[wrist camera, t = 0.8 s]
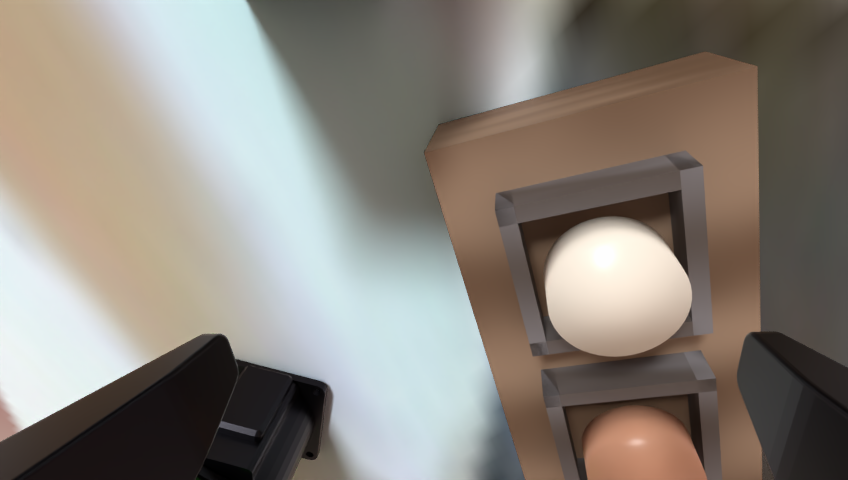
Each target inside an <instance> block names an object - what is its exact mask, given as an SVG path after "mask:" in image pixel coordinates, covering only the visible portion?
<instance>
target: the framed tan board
mask: <svg viewBox="0 0 848 480" xmlns="http://www.w3.org/2000/svg"><path fill="white" fill-rule="evenodd" d="M424 155H425V158H426V161H427V164H428V167H429V171H430V174H431V177H432V180H433V184H434V187H435V190H436V193H437V196H438V200H439V203H440V206H441V209H442V213H443V216H444V219H445V222H446V226H447V229H448V232H449V235H450V238H451V242H452V245H453V248H454V251H455V255H456V258H457V261H458V264H459V267H460V271H461V274H462V277H463V280H464V284H465V287H466V290H467V293H468V296H469V300H470V303H471V306H472V309H473V313H474V316H475V319H476V322H477V325H478V329H479V332H480V335H481V338H482V342H483V345H484V348H485V351H486V355H487V358H488V361H489V364H490V367H491V371H492V374H493V377H494V380H495V384H496V387H497V390H498V393H499V396H500V400H501V403H502V406H503V409H504V413H505V416H506V419H507V422H508V425H509V429H510V432H511V435H512V438H513V442H514V445H515V448H516V451H517V455H518V458H519V461H520V464H521V467H522V471H523V474H524V477H525V480H588V479H587V473H586V467H585V461H584V455H583V449H582V435H583V432H584V430H585V428H586V427H587V425H588V424H589V423H590V422H591V421H592V420H593V419H594V418H595V417H597V416H598V415H600V414H602V413H604V412H606V411H608V410H611V409H614V408H618V407H623V406H633V405H640V406H650V407H654V408H658V409H661V410H664V411H666V412H669V413H671V414H672V415H674V416H675V417H677V418H678V419H679V420H680V421H681V422H682V423H683V424H684V425H685V427H686V428H687V430H688V433H689V435H690V437H691V440H692V442H693V445H694V447H695V449H696V452H697V454H698V457H699V459H700V461H701V464H702V466H703V469H704V471H705V473H706V476H707V480H762V447H761V445H760V442H759V439H758V437H757V434H756V432H755V429H754V426H753V424H752V421H751V419H750V416H749V413H748V411H747V408H746V406H745V403H744V400H743V398H742V395H741V393H740V390H739V387H738V383H737V369H738V364H739V360H740V355H741V351H742V346H743V342H744V339H745V336H746V335H747V334H748V333H750V332H760V249H759V161H758V72H757V66H754V65H751V64H747V63H744V62H740V61H737V60H733V59H730V58H726V57H723V56H719V55H716V54H712V53H709V52H702V53H698V54H695V55H691V56H687V57H684V58H680V59H676V60H673V61H669V62H665V63H662V64H658V65H654V66H651V67H647V68H643V69H640V70H636V71H632V72H629V73H625V74H621V75H618V76H614V77H610V78H607V79H603V80H600V81H596V82H592V83H589V84H585V85H581V86H578V87H574V88H570V89H567V90H563V91H559V92H556V93H552V94H548V95H545V96H541V97H537V98H534V99H530V100H526V101H523V102H519V103H515V104H512V105H508V106H504V107H501V108H497V109H493V110H490V111H486V112H483V113H479V114H475V115H472V116H468V117H464V118H461V119H457V120H453V121H450V122H446V123H442V124H439V125H438V127H437V129H436V131H435V133H434V134H433V136H432V138H431V140H430V142H429V144H428V146H427V148H426V150H425V152H424ZM606 216H619V217H627V218H632V219H635V220H638V221H641V222H643V223H645V224H647V225H649V226H650V227H652V228H653V229H654V230H656V231H657V232H658V233H659V234H660V235H661V236H662V238H663V239H664V240H665V241H666V243H667V244H668V246H669V248H670V249H671V251H672V252H673V254H674V255H675V257H676V258H677V260H678V261H679V263H680V265H681V266H682V268H683V269H684V271H685V273H686V274H687V276H688V278H689V281H690V284H691V289H692V302H691V308H690V310H689V313H688V316H687V318H686V319H685V321H684V323H683V324H682V326H681V327H680V328H679V329H678V330H677V332H676V333H675V334H674V335H672V336H671V337H670V338H669V339H668V340H666V341H665V342H663V343H662V344H660V345H658V346H656V347H654V348H652V349H650V350H647V351H645V352H642V353H638V354H634V355H628V356H618V357H612V356H601V355H596V354H591V353H588V352H585V351H583V350H580V349H578V348H576V347H574V346H573V345H571V344H570V343H568V342H567V341H566V340H565V339H563V338H562V337H561V336H560V335H559V333H558V332H557V331H556V329H555V328H554V326H553V324H552V322H551V320H550V317H549V314H548V307H547V299H546V292H545V284H544V277H543V269H544V263H545V260H546V257H547V254H548V252H549V250H550V249H551V247H552V246H553V244H554V243H555V242H556V241H557V239H558V238H559V237H560V236H561V235H563V234H564V233H565V232H566V231H568V230H569V229H571V228H572V227H574V226H576V225H578V224H580V223H582V222H585V221H587V220H590V219H594V218H599V217H606Z"/></svg>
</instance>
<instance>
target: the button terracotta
mask: <svg viewBox="0 0 848 480" xmlns="http://www.w3.org/2000/svg"><path fill="white" fill-rule="evenodd" d="M582 449H583V455H584V461H585V467H586V473H587V479H588V480H707V476H706V473H705V471H704V469H703V466H702V464H701V461H700V459H699V457H698V454H697V452H696V449H695V447H694V445H693V442H692V440H691V437H690V435H689V433H688V430H687V428H686V427H685V425H684V424H683V423H682V422H681V421H680V420H679V419H678V418H677V417H675V416H674V415H672V414H671V413H669V412H666V411H664V410H661V409H658V408H654V407H650V406H640V405H633V406H623V407H618V408H614V409H611V410H608V411H606V412H604V413H602V414H600V415H598V416H597V417H595V418H594V419H593V420H592V421H591V422H590V423H589V424H588V425H587V427H586V428H585V430H584V432H583V435H582Z"/></svg>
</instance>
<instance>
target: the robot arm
mask: <svg viewBox="0 0 848 480" xmlns="http://www.w3.org/2000/svg"><path fill="white" fill-rule="evenodd" d="M737 383H738V387H739V390H740V393H741V395H742V398H743V400H744V403H745V406H746V408H747V411H748V413H749V416H750V419H751V421H752V424H753V426H754V429H755V432H756V434H757V437H758V439H759V442H760V445H761V447H762V450H763V452H764V455H765V458H766V460H767V463H768V465H769V468H770V470H771V473H772V475H773V477H774V480H848V368H847V367H845V366H843V365H841V364H840V363H838V362H836V361H834V360H832V359H830V358H828V357H826V356H824V355H822V354H820V353H818V352H816V351H815V350H813V349H811V348H809V347H807V346H805V345H803V344H801V343H799V342H797V341H795V340H793V339H791V338H790V337H788V336H786V335H784V334H782V333H779V332H750V333H748V334H747V335H746V336H745V339H744V342H743V346H742V351H741V355H740V360H739V364H738V369H737ZM316 389H317V390H316ZM318 390H319V391H318ZM326 395H327V387H326V385H325V384H324V383H323V382H320V381H317V380H313V379H309V378H305V377H302V376H298V375H294V374H290V373H286V372H282V371H278V370H275V369H271V368H267V367H263V366H259V365H255V364H252V363H248V362H244V361H240V360H236V359H235V357H234V354H233V352H232V349H231V346H230V343H229V341H228V339H227V337H226V336H225V335H222V334H203V335H200V336H198V337H196V338H194V339H192V340H191V341H189V342H187V343H185V344H183V345H181V346H179V347H177V348H175V349H174V350H172V351H170V352H168V353H166V354H164V355H162V356H160V357H159V358H157V359H155V360H153V361H151V362H149V363H147V364H145V365H144V366H142V367H140V368H138V369H136V370H134V371H132V372H130V373H129V374H127V375H125V376H123V377H121V378H119V379H117V380H115V381H114V382H112V383H110V384H108V385H106V386H104V387H102V388H100V389H99V390H97V391H95V392H93V393H91V394H89V395H87V396H85V397H84V398H82V399H80V400H78V401H76V402H74V403H72V404H70V405H69V406H67V407H65V408H63V409H61V410H59V411H57V412H55V413H54V414H52V415H50V416H48V417H46V418H44V419H42V420H40V421H39V422H37V423H35V424H33V425H31V426H29V427H27V428H25V429H24V430H22V431H20V432H18V433H16V434H14V435H12V436H10V437H9V438H7V439H5V440H3V441H1V442H0V480H292V477H293V475H294V473H295V470H296V468H297V466H298V464H299V461H300V459H301V458H305V459H309V460H315V459H316V458H317V456H318V454H319V451H320V443H321V435H322V427H323V419H324V411H325V403H326Z"/></svg>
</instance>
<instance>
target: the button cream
mask: <svg viewBox="0 0 848 480" xmlns="http://www.w3.org/2000/svg"><path fill="white" fill-rule="evenodd" d="M543 277H544V284H545V292H546V299H547V307H548V314H549V317H550V320H551V322H552V324H553V326H554V328H555V329H556V331H557V332H558V333H559V335H560V336H561V337H562V338H563V339H565V340H566V341H567V342H568V343H570V344H571V345H573V346H574V347H576V348H578V349H580V350H583V351H585V352H588V353H591V354H596V355H601V356H612V357H618V356H628V355H634V354H638V353H642V352H645V351H647V350H650V349H652V348H654V347H656V346H658V345H660V344H662V343H663V342H665V341H666V340H668V339H669V338H670V337H671V336H672V335H674V334H675V333H676V332H677V330H678V329H679V328H680V327H681V326H682V324H683V323H684V321H685V319H686V318H687V316H688V313H689V310H690V308H691V302H692V289H691V284H690V281H689V278H688V276H687V274H686V273H685V271H684V269H683V268H682V266H681V265H680V263H679V261H678V260H677V258H676V257H675V255H674V254H673V252H672V251H671V249H670V248H669V246H668V244H667V243H666V241H665V240H664V239H663V238H662V236H661V235H660V234H659V233H658V232H657V231H656V230H654V229H653V228H652V227H650V226H649V225H647V224H645V223H643V222H641V221H638V220H635V219H632V218H627V217H619V216H606V217H599V218H594V219H590V220H587V221H585V222H582V223H580V224H578V225H576V226H574V227H572V228H571V229H569V230H568V231H566V232H565V233H564V234H563V235H561V236H560V237H559V238H558V239H557V241H556V242H555V243H554V244H553V246H552V247H551V249H550V250H549V252H548V254H547V257H546V260H545V263H544V269H543Z"/></svg>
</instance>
